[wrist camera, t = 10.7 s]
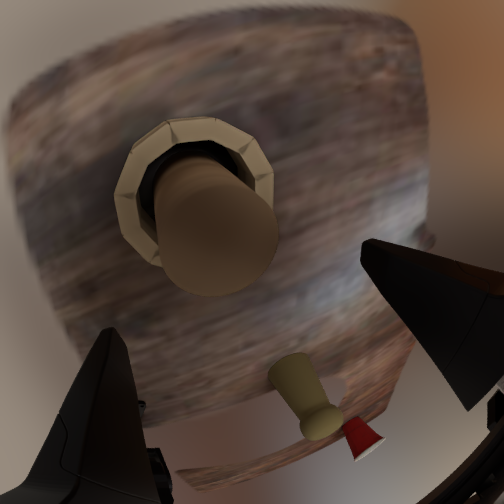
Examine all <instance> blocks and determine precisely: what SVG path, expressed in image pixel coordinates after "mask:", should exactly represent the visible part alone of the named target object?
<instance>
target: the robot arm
mask: <svg viewBox="0 0 504 504" xmlns="http://www.w3.org/2000/svg"><path fill="white" fill-rule="evenodd" d="M360 262H361V265H362V267H363V268H364V270H365V271H366V272H367V274H368V275H369V277H370V278H371V280H372V281H373V283H374V284H375V286H376V287H377V288H378V290H379V291H380V293H381V294H382V296H383V297H384V298H385V299H386V301H387V302H388V303H389V304H390V306H391V307H392V308H393V309H394V311H395V312H396V313H397V314H398V316H399V317H400V318H401V319H402V321H403V322H404V323H405V324H406V326H407V327H408V328H409V330H410V331H411V332H412V333H413V335H414V336H415V337H416V339H417V340H418V341H419V343H420V344H421V345H422V347H423V348H424V349H425V351H426V352H427V353H428V355H429V356H430V357H431V359H432V360H433V362H434V363H435V365H436V366H437V367H438V369H439V370H440V371H441V373H442V375H443V376H444V378H445V379H446V380H447V382H448V383H449V385H450V386H451V388H452V389H453V391H454V392H455V394H456V395H457V397H458V398H459V400H460V401H461V403H462V404H463V406H464V408H465V409H466V410H467V411H470V410H471V409H472V408H473V407H474V406H475V405H476V404H477V403H478V402H479V401H480V400H481V399H482V398H483V397H484V396H485V395H486V394H487V393H488V392H489V391H490V390H491V388H493V386H495V385H496V386H497V387H498V389H497V391H496V392H495V393H494V395H493V396H492V397H491V399H490V400H489V401H488V403H487V408H488V409H487V412H488V414H487V416H488V417H487V428H488V429H489V431H490V433H489V434H488V435H487V437H486V438H485V439H484V440H483V441H482V442H481V444H480V445H479V446H478V447H477V448H476V449H475V450H474V452H473V453H472V454H471V455H470V456H469V457H468V458H467V459H466V460H465V461H464V462H463V463H462V464H461V465H460V466H459V467H458V468H457V469H456V470H455V471H454V472H453V473H452V474H451V475H450V476H449V477H447V478H446V479H445V480H444V481H443V482H442V483H441V484H440V485H439V486H437V487H436V488H435V489H434V490H433V491H432V492H430V493H429V494H428V495H427V496H425V497H424V498H423V499H422V500H420V501H419V502H418V503H416V504H504V273H503V272H499V271H494V270H490V269H486V268H482V267H478V266H474V265H470V264H466V263H463V262H459V261H456V260H455V261H454V260H452V259H449V258H445V257H442V256H438V255H434V254H431V253H427V252H424V251H420V250H416V249H412V248H409V247H405V246H401V245H397V244H393V243H389V242H385V241H381V240H377V239H373V238H371V239H368V240H366V241H364V242H363V243H362V247H361V257H360ZM145 408H146V403H145V402H141V401H138V398H137V392H136V387H135V382H134V378H133V374H132V369H131V365H130V360H129V356H128V351H127V347H126V344H125V343H124V341H123V340H122V338H121V337H120V335H119V334H118V332H117V331H116V329H115V328H114V327H109V328H106V329H103V330H102V331H101V332H100V334H99V336H98V337H97V339H96V341H95V343H94V344H93V346H92V348H91V350H90V352H89V353H88V355H87V357H86V359H85V361H84V363H83V364H82V366H81V368H80V370H79V372H78V374H77V376H76V378H75V380H74V382H73V384H72V386H71V388H70V390H69V392H68V394H67V396H66V398H65V400H64V402H63V404H62V407H61V408H60V410H59V414H58V415H57V417H56V419H55V421H54V424H53V426H52V428H51V430H50V432H49V434H48V436H47V438H46V440H45V442H44V444H43V446H42V448H41V450H40V452H39V454H38V456H37V458H36V460H35V462H34V464H33V466H32V468H31V470H30V472H29V474H28V476H27V478H26V479H25V480H24V482H23V483H22V484H20V485H19V486H18V487H16V488H14V489H12V490H10V491H8V492H6V493H4V494H2V495H0V504H173V502H174V499H173V497H172V494H171V493H172V480H171V476H170V473H169V471H168V468H167V466H166V463H165V461H164V458H163V456H162V453H161V450H160V448H146V444H145V439H144V434H143V429H142V423H141V417H142V414H143V412H144V410H145ZM474 492H476V494H475V495H473V496H472V497H470V496H471V495H472V494H473V493H474Z"/></svg>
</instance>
